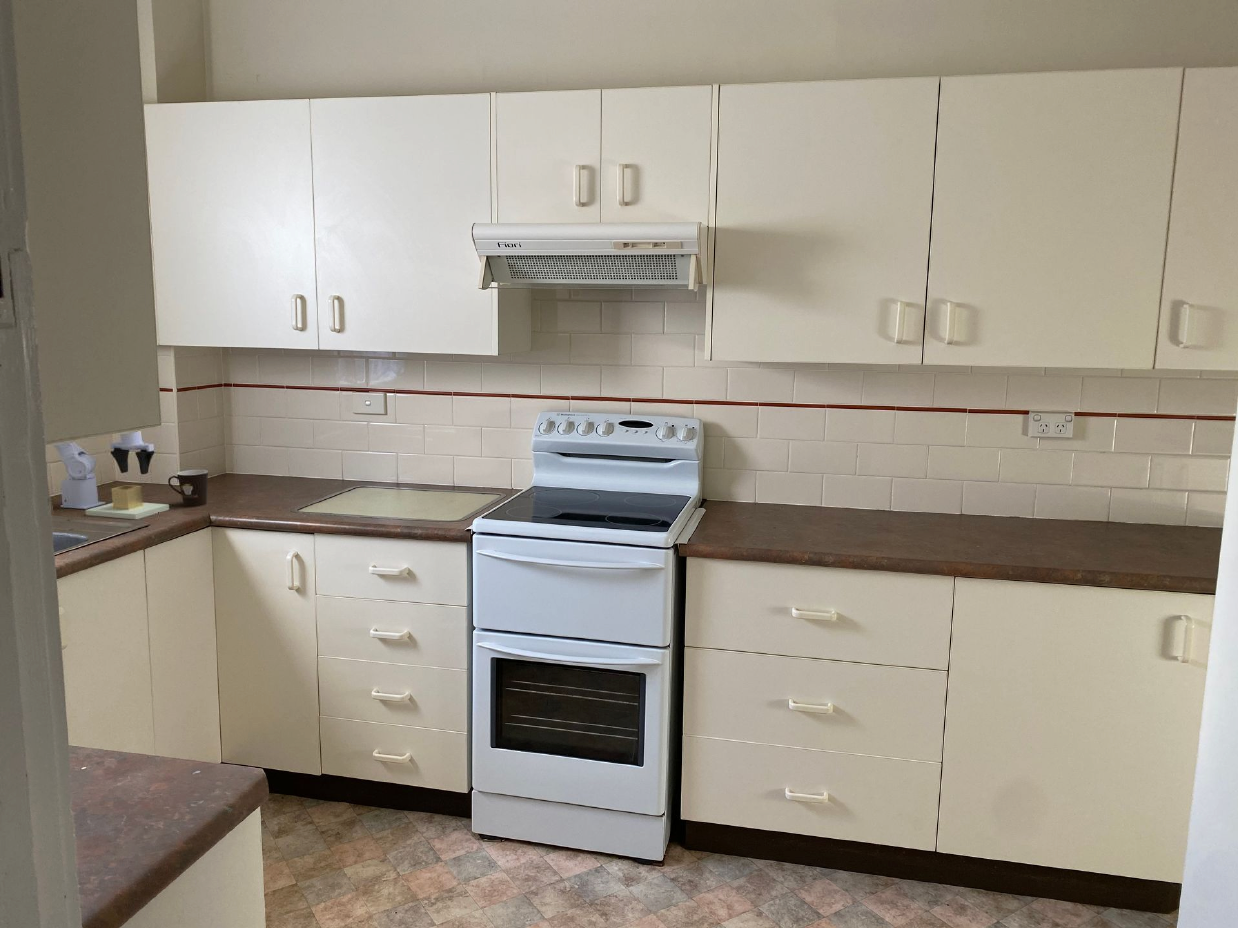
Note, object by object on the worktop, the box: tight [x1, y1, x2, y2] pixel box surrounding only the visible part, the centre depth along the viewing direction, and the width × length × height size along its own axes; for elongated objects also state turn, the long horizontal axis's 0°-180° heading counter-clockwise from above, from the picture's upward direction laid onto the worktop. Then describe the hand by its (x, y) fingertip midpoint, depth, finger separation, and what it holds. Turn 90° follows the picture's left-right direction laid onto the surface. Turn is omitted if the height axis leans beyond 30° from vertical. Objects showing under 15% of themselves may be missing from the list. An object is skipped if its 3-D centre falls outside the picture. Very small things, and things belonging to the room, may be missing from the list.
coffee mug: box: [167, 469, 209, 508], centre depth 290 cm, size 12×9×10 cm
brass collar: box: [111, 484, 144, 510], centre depth 279 cm, size 6×6×6 cm
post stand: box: [84, 502, 170, 520], centre depth 279 cm, size 18×13×6 cm
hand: (134, 473), depth 291 cm, fingers open, 7 cm apart
